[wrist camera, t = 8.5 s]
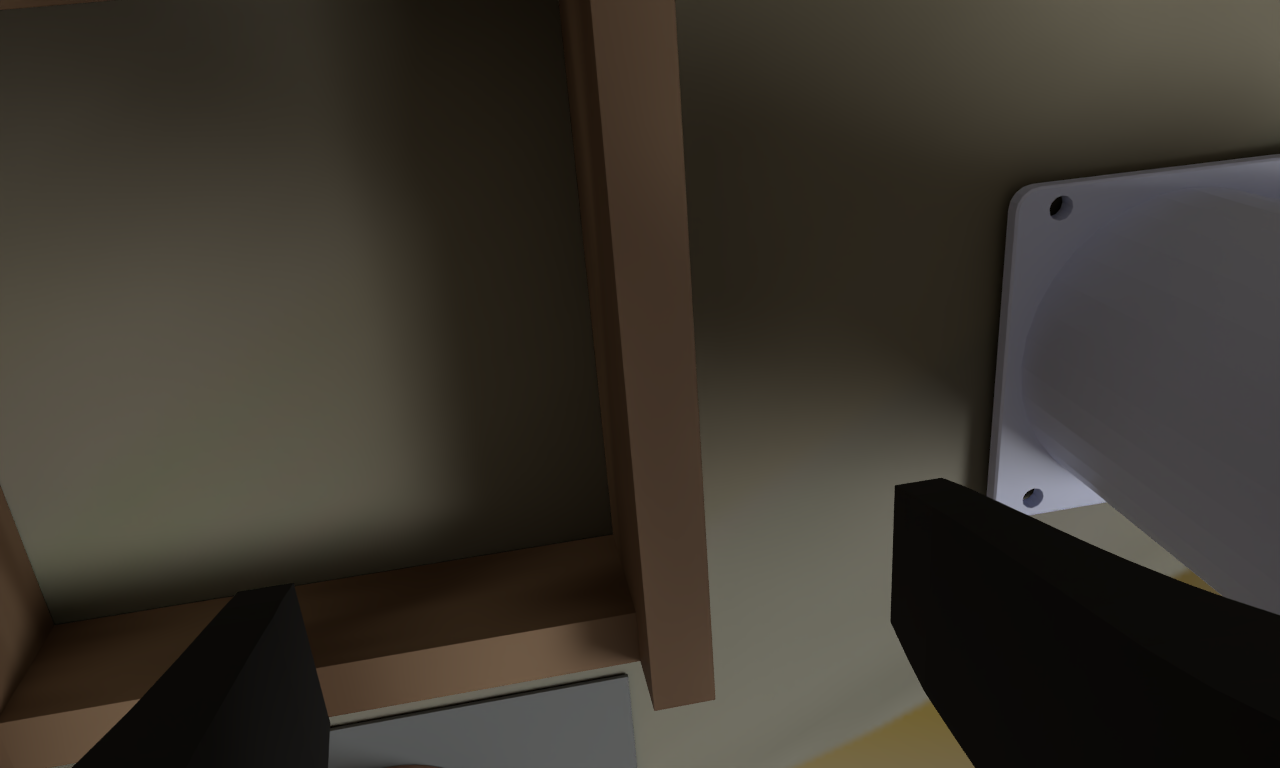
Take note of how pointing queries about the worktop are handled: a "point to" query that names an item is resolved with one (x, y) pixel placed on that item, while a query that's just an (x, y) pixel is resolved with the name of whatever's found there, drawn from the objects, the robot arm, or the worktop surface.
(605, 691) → the rubber mat
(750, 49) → the worktop surface
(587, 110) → the wooden square frame
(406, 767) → the seedling pot
